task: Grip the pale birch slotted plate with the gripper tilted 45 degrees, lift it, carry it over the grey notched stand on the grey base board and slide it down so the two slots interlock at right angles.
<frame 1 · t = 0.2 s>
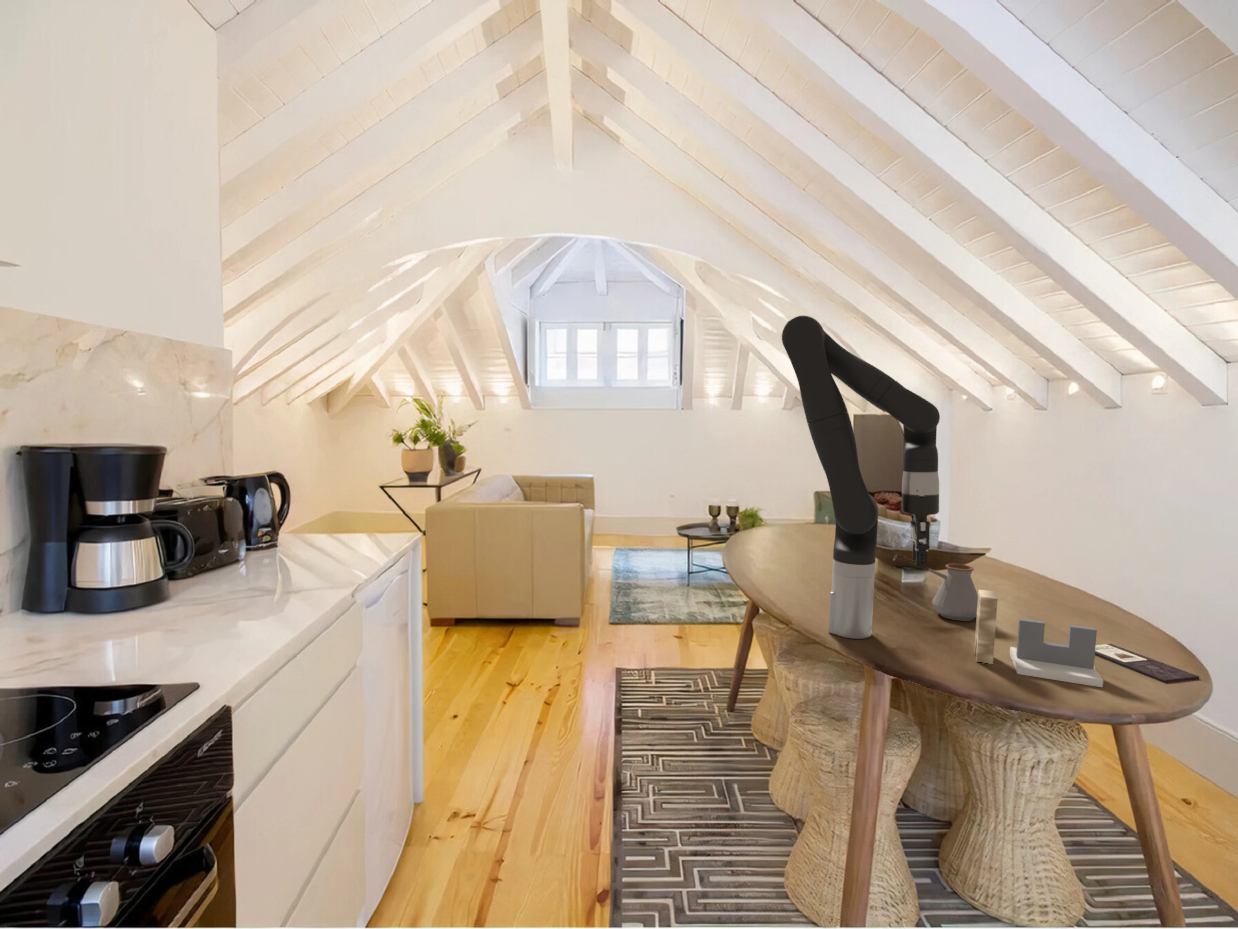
hand: (919, 564, 145), 18 cm above the table, tool pointing down, fingers open, 8 cm apart
chocolate bar: (1135, 666, 136), on the table
grey notched stand: (1053, 669, 132), on the table
coffee pot: (935, 614, 167), on the table
birch slotted plate: (983, 658, 137), on the table
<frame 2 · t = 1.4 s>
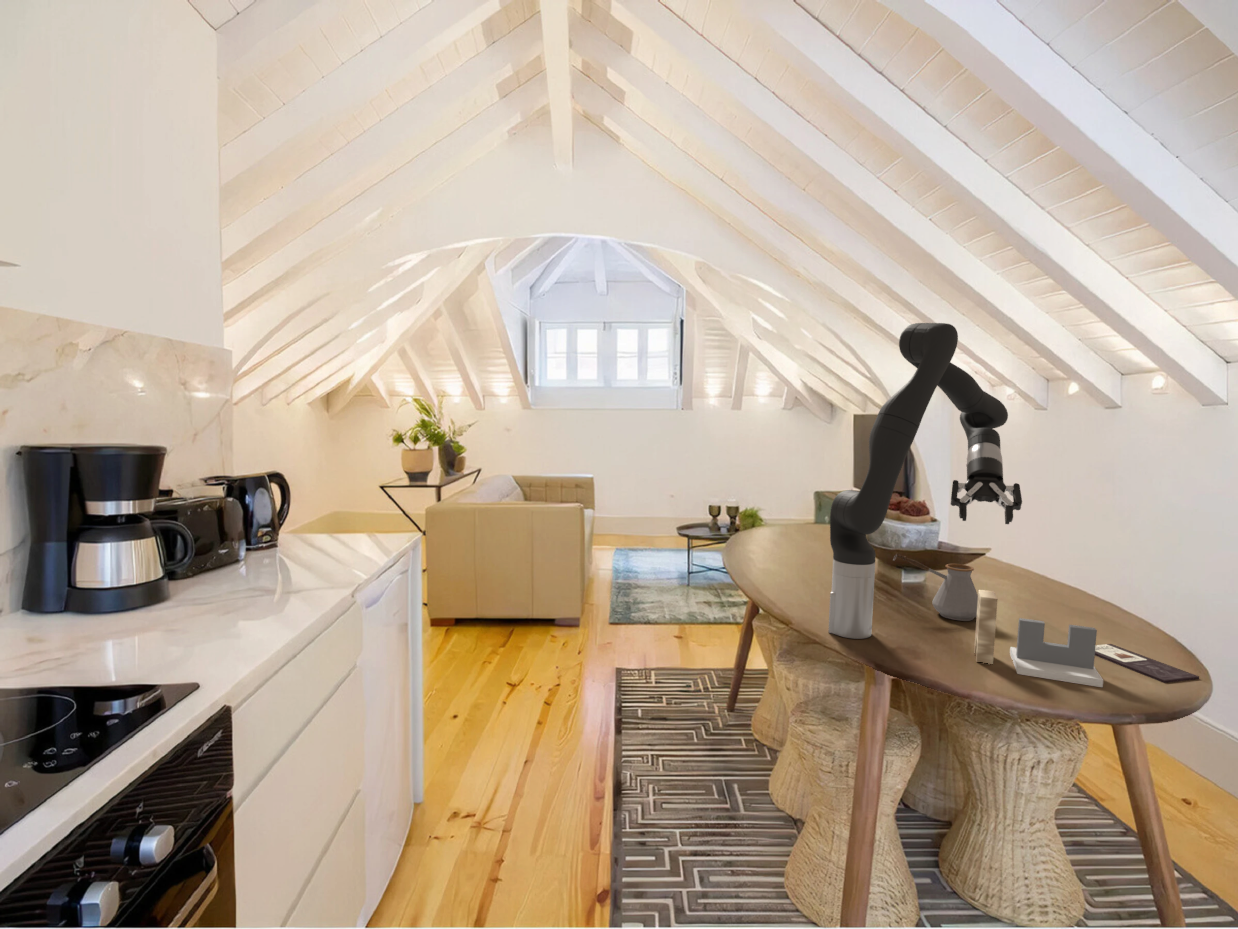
hand: (985, 520, 147), 28 cm above the table, tool tilted 45°, fingers open, 8 cm apart
nothing on the table moved.
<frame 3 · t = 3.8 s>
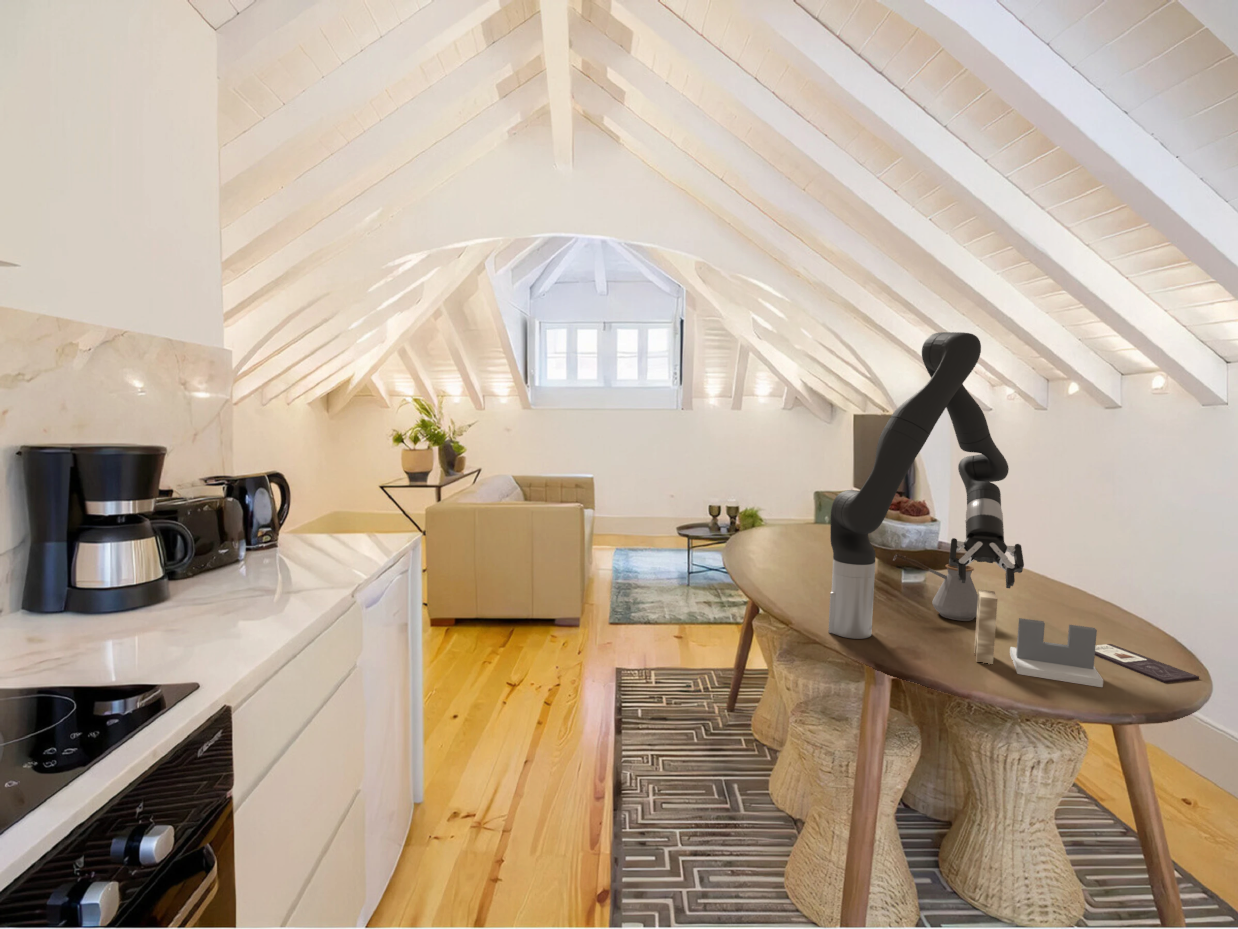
hand: (986, 584, 140), 15 cm above the table, tool tilted 45°, fingers open, 8 cm apart
nothing on the table moved.
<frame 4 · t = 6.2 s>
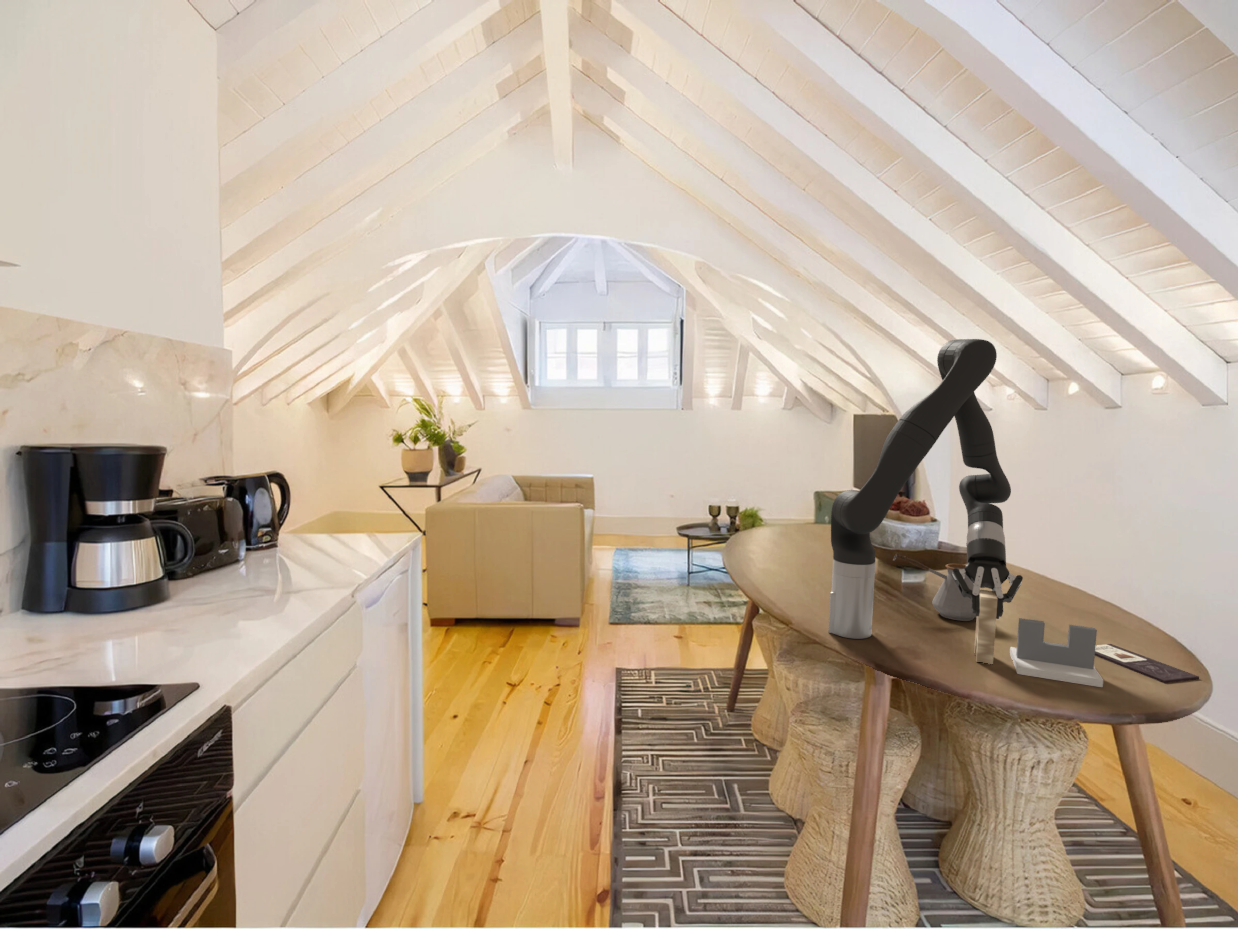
hand: (987, 615, 135), 10 cm above the table, tool tilted 45°, fingers closed on birch slotted plate, 3 cm apart
birch slotted plate: (983, 658, 137), on the table, touching gripper
everything else where it was.
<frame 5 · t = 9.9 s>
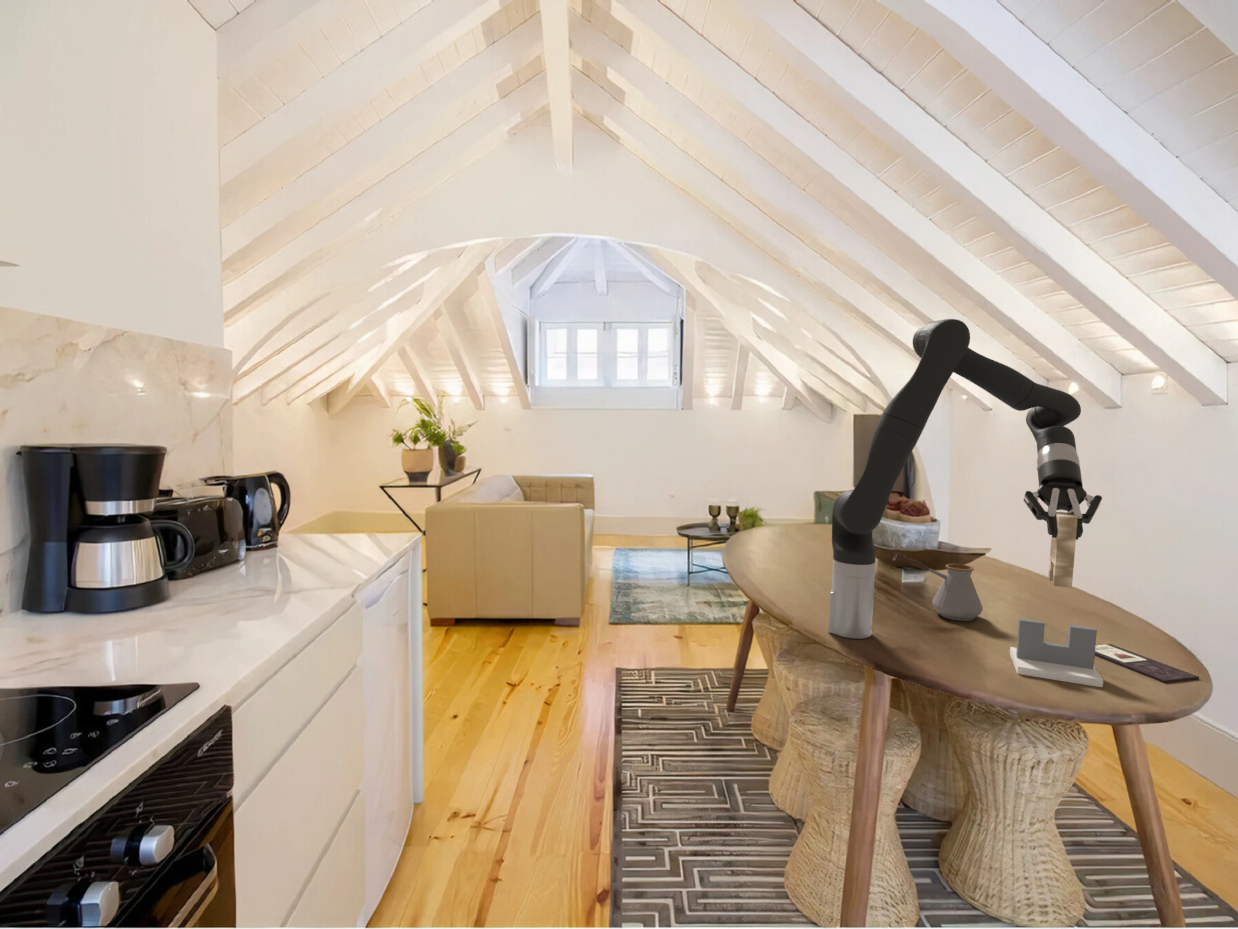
hand: (1065, 536, 128), 28 cm above the table, tool tilted 45°, fingers closed on birch slotted plate, 3 cm apart
birch slotted plate: (1059, 583, 131), point 18 cm above the table, touching gripper
everything else where it was.
when the fingers open (12 cm above the table, at t = 14.0 s): birch slotted plate stays where it is, resting on grey notched stand.
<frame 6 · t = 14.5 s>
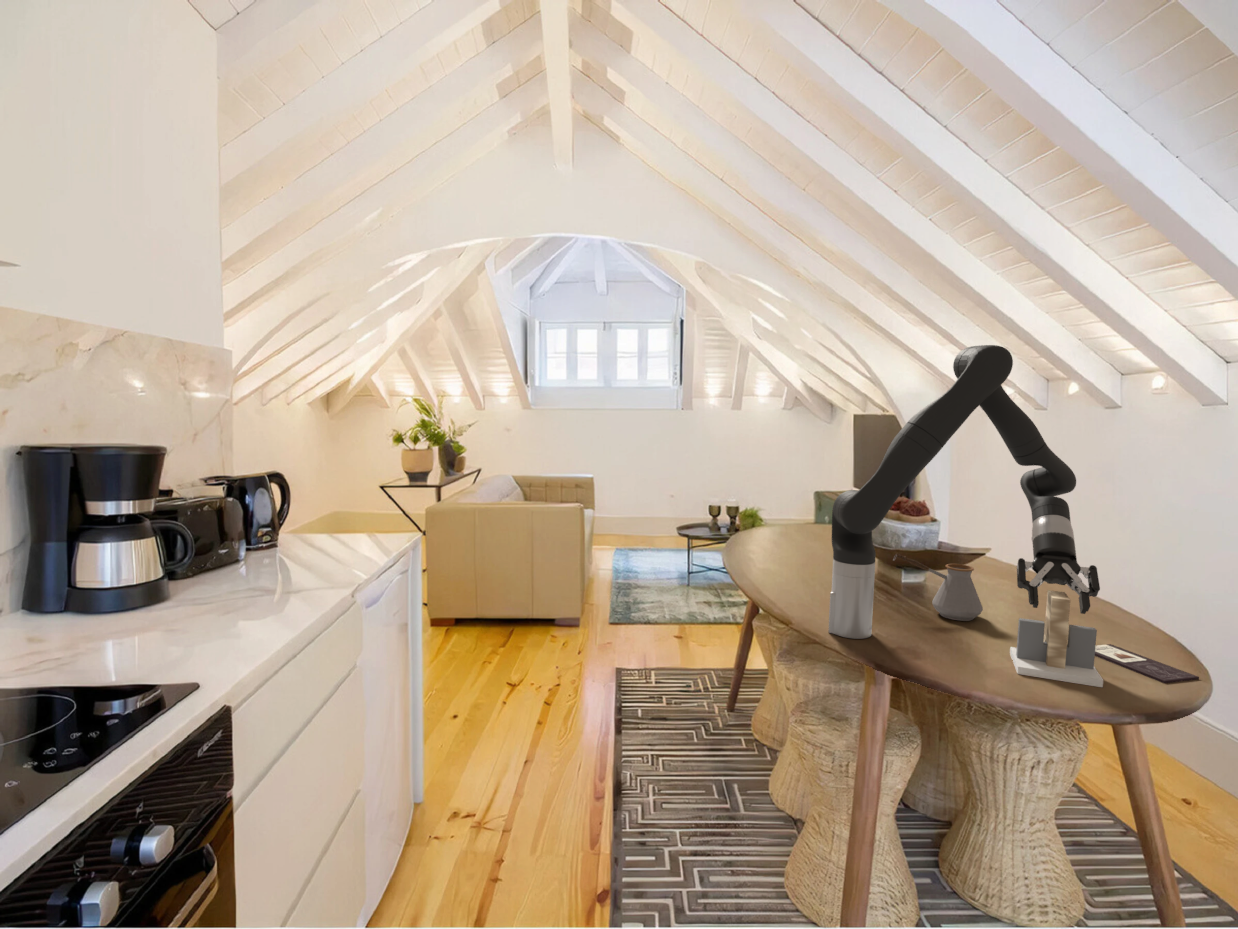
hand: (1059, 608, 130), 13 cm above the table, tool tilted 45°, fingers open, 7 cm apart
birch slotted plate: (1053, 662, 132), point 1 cm above the table, touching grey notched stand
everything else where it was.
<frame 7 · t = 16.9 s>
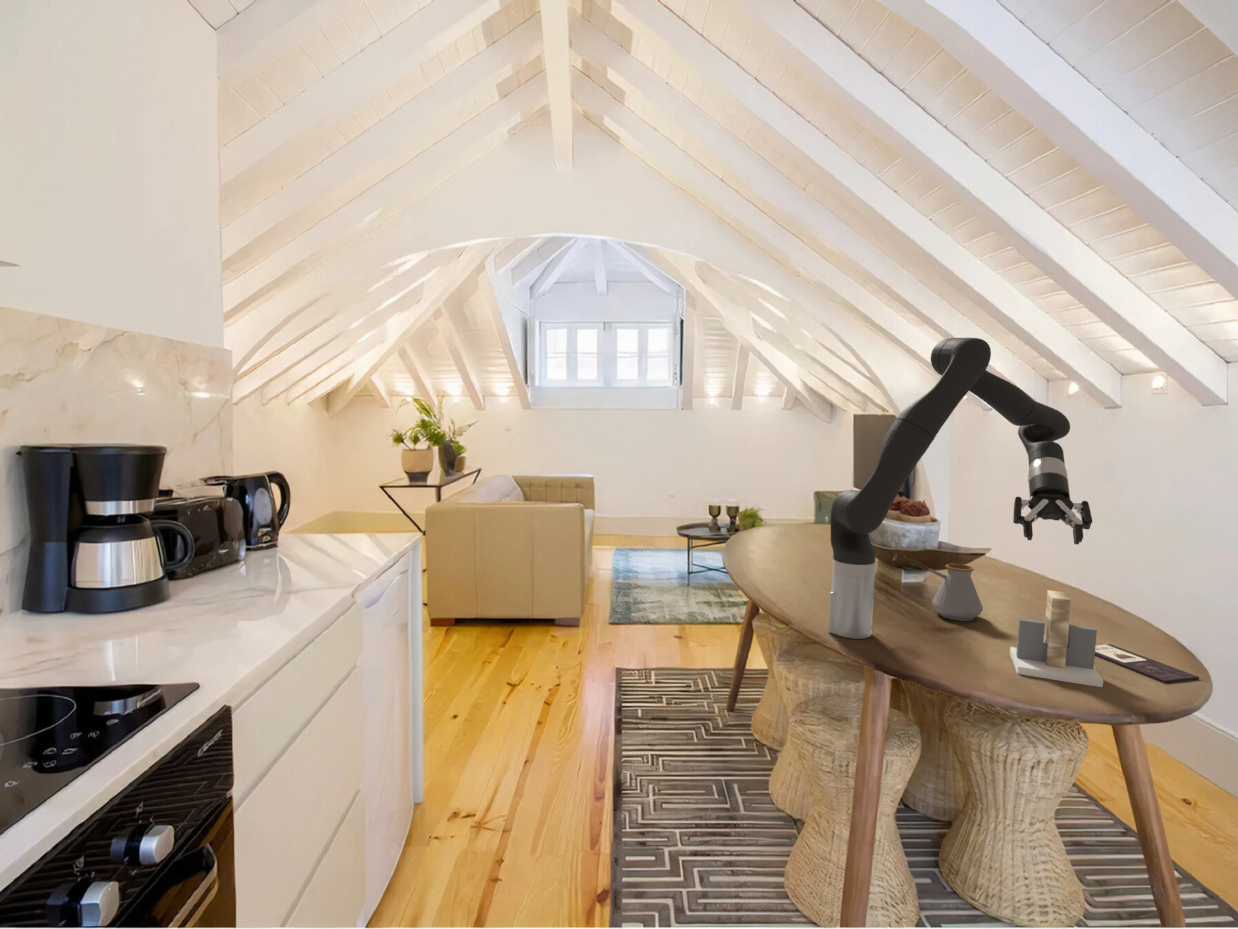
hand: (1053, 540, 139), 25 cm above the table, tool tilted 45°, fingers open, 8 cm apart
nothing on the table moved.
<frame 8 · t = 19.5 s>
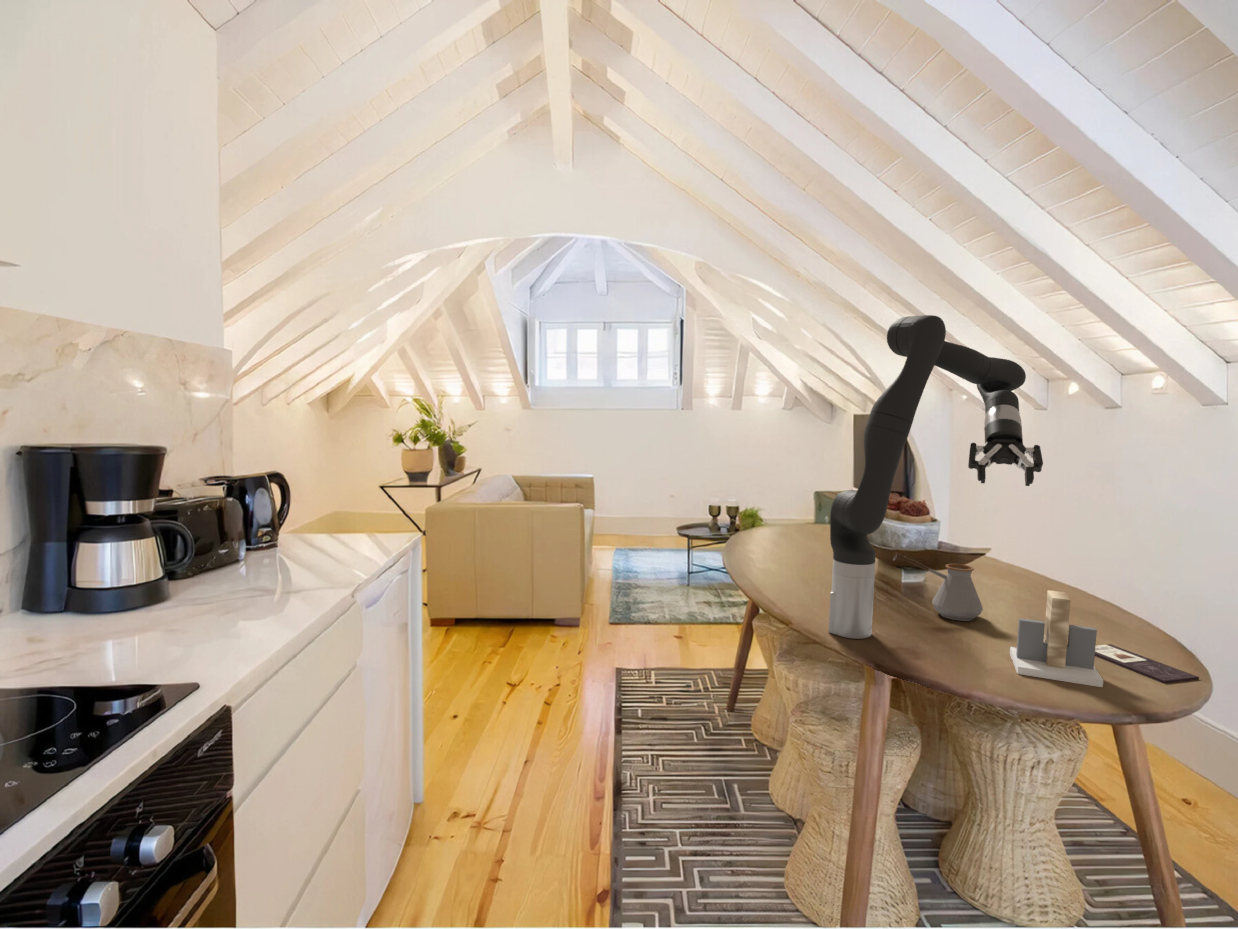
hand: (1005, 482, 142), 37 cm above the table, tool tilted 45°, fingers open, 8 cm apart
nothing on the table moved.
at the end: birch slotted plate 0.1 cm off-centre on the grey notched stand, point 1.5 cm above the grey notched stand's base; birch slotted plate tilted 0°; the gripper is holding nothing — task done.
